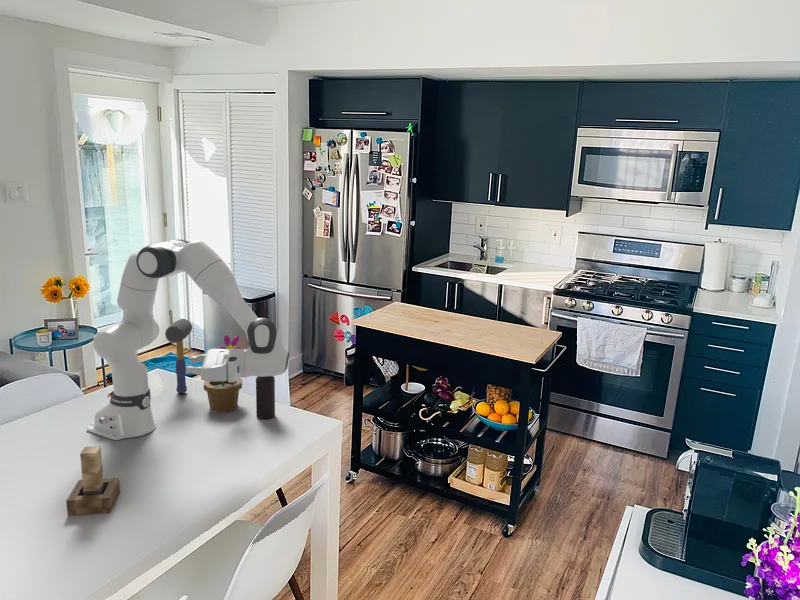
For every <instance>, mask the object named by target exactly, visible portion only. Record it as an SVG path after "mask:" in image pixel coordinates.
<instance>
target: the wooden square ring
mask: <svg viewBox="0 0 800 600" xmlns="http://www.w3.org/2000/svg"><path fill="white" fill-rule="evenodd" d="M103 481H104V491H105V492H104V494H100V495H85V496H84V495H83V480H82V479H79V480H78V481H77V483H76V484H75V485H74V487H73V488H72V491H71V493H70V494H69V495H68V497H67V499H65V500H66V512H67V517H72V516H85V515H86V516H89V515H101V514H111V513H112V511H113V508H114V507H115V504H116V502H117V500H118V498H119V497H120V494H121V484H120V477H111V478H110V477H109V478H103Z"/></svg>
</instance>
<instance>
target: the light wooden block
mask: <svg viewBox="0 0 800 600" xmlns="http://www.w3.org/2000/svg"><path fill="white" fill-rule="evenodd" d="M79 455H80V467H81V468H80V469H81V480H83V495H84V496H85V495H100V494H104V492H105V491H104V481H103V479H104V471H103V470H104V469H103V457H102V448H101V445H97V446H96V445H95V446H92V445H91V446H84V447H83V449H82V450H81V452H80V453H79Z"/></svg>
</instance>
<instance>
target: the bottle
mask: <svg viewBox="0 0 800 600" xmlns="http://www.w3.org/2000/svg"><path fill="white" fill-rule="evenodd" d="M275 378H276V377H275V376H266V377H259V376H256V378H255V394H256V396H255V397H256V399H255V400H256V401H255V405H256V409H255V411H256V418H257V419H259V420H263V421H265V420H271V419H273V418H275V417H276V391H275V390H276V387H275V386H276V383H275V381H276V379H275Z"/></svg>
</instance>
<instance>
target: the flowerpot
mask: <svg viewBox="0 0 800 600" xmlns="http://www.w3.org/2000/svg"><path fill="white" fill-rule="evenodd" d="M230 338H231V337H229V335H228V334H225V335H224V337H223V341H224V345H225V346H226V347H225V346H222V345H221V346H218V347H216V349H229V350H230V349H242V348H241V346H236V345H237V344H238V342H239V338H240V336H239V335H238V334H237V335H236V336H234V337H233V338H232V340H231V339H230ZM203 381H204V380H203ZM242 388H243V379H242V378H239V379H238V380H237V381H235V382H228V380H226V381H204V382H203V390H204V391H205V392H206V393H207V400H208V406H209V410H211V411H212V410H213V411H212V412H214V411H216V413H228V411H229V412H232V411H231V410H233V411H234V410H237V408H238V403H239V402H238V401H239V394H240V389H242Z"/></svg>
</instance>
